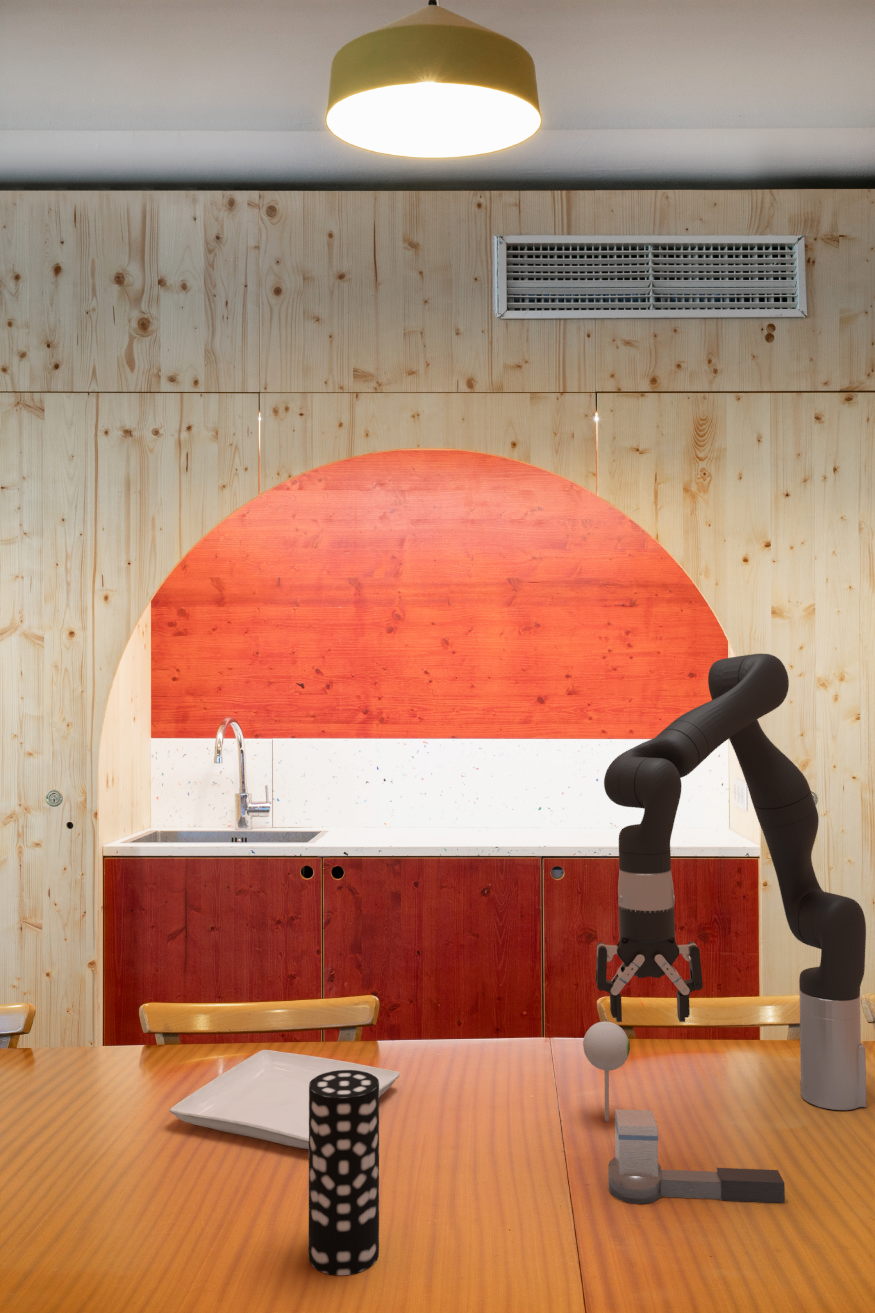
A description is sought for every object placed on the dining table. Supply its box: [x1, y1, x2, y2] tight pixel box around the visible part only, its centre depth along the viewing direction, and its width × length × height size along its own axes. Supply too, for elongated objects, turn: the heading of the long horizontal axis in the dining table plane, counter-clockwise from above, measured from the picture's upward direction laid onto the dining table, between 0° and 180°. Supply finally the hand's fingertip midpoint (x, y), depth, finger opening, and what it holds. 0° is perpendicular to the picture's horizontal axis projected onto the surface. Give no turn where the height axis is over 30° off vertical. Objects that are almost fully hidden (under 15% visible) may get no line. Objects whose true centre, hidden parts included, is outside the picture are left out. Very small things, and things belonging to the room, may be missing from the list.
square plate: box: [169, 1049, 401, 1150], centre depth 156 cm, size 27×27×4 cm
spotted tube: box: [308, 1070, 380, 1276], centre depth 116 cm, size 8×8×20 cm
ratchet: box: [607, 1157, 786, 1205], centre depth 130 cm, size 22×7×7 cm, turn 85°
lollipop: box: [582, 1021, 631, 1122], centre depth 152 cm, size 7×7×15 cm
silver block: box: [614, 1108, 659, 1177], centre depth 131 cm, size 5×5×6 cm
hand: (649, 1020), depth 135 cm, fingers open, 8 cm apart
